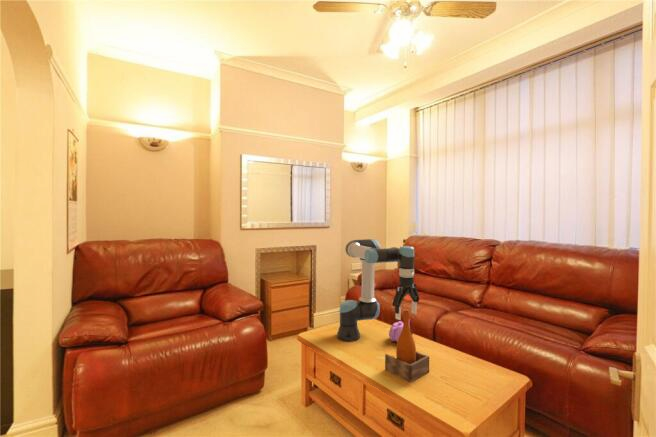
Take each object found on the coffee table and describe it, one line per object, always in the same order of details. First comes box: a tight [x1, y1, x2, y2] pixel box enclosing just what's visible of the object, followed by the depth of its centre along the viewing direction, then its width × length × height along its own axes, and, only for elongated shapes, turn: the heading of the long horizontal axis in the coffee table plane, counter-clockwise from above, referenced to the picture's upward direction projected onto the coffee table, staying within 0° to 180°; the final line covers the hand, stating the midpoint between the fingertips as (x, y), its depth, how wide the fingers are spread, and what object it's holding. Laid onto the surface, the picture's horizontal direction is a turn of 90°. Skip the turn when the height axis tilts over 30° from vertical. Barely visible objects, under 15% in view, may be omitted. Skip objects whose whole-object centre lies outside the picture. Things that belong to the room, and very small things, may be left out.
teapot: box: [388, 317, 411, 343], centre depth 202 cm, size 20×14×12 cm
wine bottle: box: [395, 310, 417, 364], centre depth 164 cm, size 10×10×30 cm
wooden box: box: [384, 350, 430, 383], centre depth 163 cm, size 16×16×8 cm
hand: (406, 316), depth 164 cm, fingers open, 13 cm apart
